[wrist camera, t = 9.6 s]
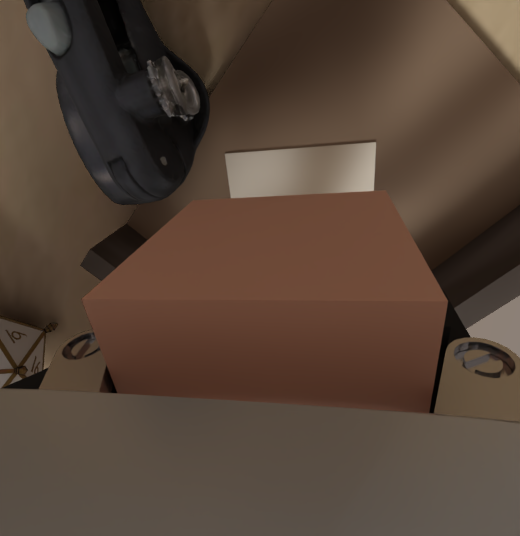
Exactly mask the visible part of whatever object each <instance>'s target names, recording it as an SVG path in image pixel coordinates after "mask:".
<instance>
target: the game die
mask: <svg viewBox="0 0 520 536" xmlns="http://www.w3.org/2000/svg"><path fill="white" fill-rule="evenodd" d="M57 325H58V324H51V323H50V325H48V326H46V327H45V328H44V329H42V328H38V327H35V326H32V325H29V324H26V323H23V322H19V321H16V320H13V319H10V318H7V317H4V316H0V388H3V387H5V386H7V385H10V384H12V383H14V382H17V381H19V380H21V379H24V378H26V377H28V376H31V375H33V374H35V373H38V372H40V371H42V370H43V367H44V353H45V338H46V333H47V332H51V331H52V330H55V328H56V326H57Z"/></svg>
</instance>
